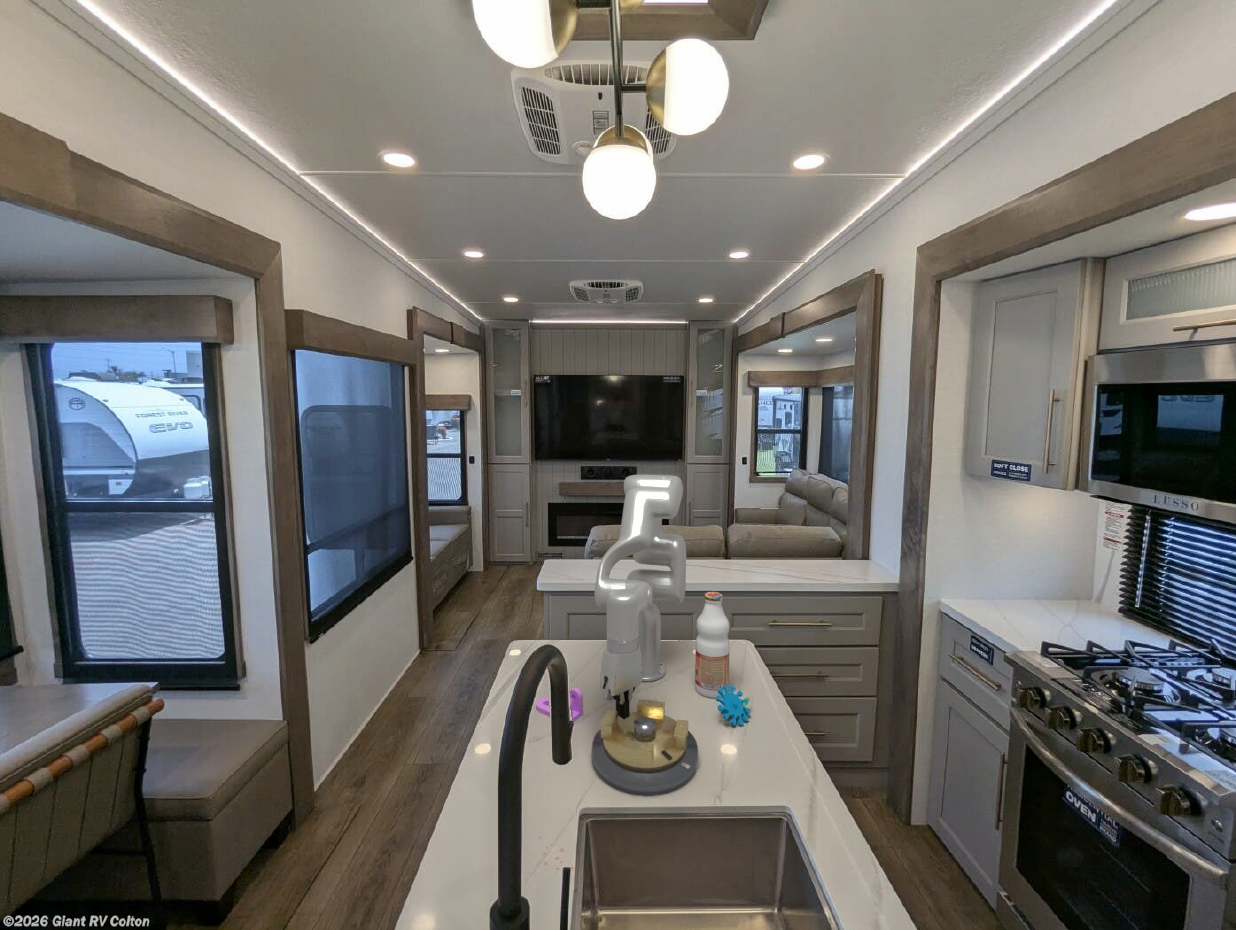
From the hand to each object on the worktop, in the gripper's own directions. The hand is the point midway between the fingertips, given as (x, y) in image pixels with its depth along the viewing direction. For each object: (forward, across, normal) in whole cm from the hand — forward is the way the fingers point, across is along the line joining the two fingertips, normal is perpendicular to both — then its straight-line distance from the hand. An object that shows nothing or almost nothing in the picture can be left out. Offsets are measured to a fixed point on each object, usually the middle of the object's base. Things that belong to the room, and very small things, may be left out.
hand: (622, 715), depth 125 cm
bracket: (+6, +5, -20) cm, 22 cm away
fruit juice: (+6, -34, 0) cm, 34 cm away
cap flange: (+6, 0, +8) cm, 10 cm away
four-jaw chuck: (+3, +1, +8) cm, 9 cm away
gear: (+6, -28, +12) cm, 31 cm away
